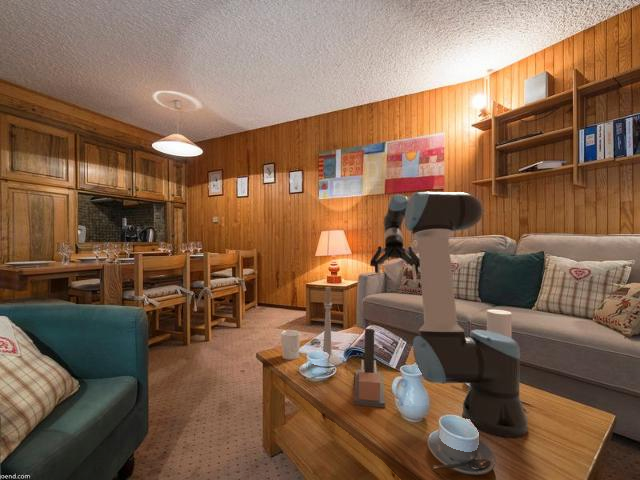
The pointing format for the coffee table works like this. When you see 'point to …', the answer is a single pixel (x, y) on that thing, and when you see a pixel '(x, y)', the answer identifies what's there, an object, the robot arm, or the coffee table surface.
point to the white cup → (290, 344)
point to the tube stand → (369, 388)
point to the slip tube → (369, 351)
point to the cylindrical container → (499, 322)
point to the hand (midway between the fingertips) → (397, 279)
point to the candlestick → (329, 331)
